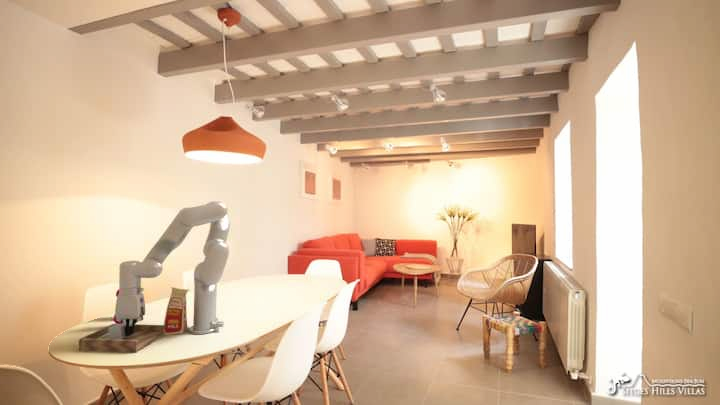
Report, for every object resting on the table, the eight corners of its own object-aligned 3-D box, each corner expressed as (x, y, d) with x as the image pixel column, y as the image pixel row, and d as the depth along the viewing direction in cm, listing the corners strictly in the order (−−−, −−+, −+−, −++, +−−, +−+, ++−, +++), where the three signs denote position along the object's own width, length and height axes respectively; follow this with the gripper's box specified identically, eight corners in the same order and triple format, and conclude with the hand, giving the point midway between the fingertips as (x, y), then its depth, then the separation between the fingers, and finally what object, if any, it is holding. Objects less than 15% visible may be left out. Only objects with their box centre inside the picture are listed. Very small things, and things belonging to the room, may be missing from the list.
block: (129, 335, 144) (128, 323, 144) (120, 339, 139) (120, 327, 139) (117, 335, 144) (117, 323, 144) (108, 340, 139) (108, 327, 139)
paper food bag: (162, 334, 151) (164, 289, 151) (168, 327, 160) (169, 285, 160) (185, 333, 154) (186, 288, 154) (189, 326, 162) (190, 284, 163)
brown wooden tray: (164, 335, 150) (164, 325, 150) (136, 352, 132) (136, 341, 132) (113, 333, 151) (113, 323, 151) (78, 350, 133) (79, 339, 133)
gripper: (153, 288, 145) (153, 331, 145) (118, 288, 145) (118, 331, 145) (142, 293, 138) (141, 338, 138) (105, 293, 138) (105, 338, 138)
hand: (129, 334), depth 142 cm, fingers closed
